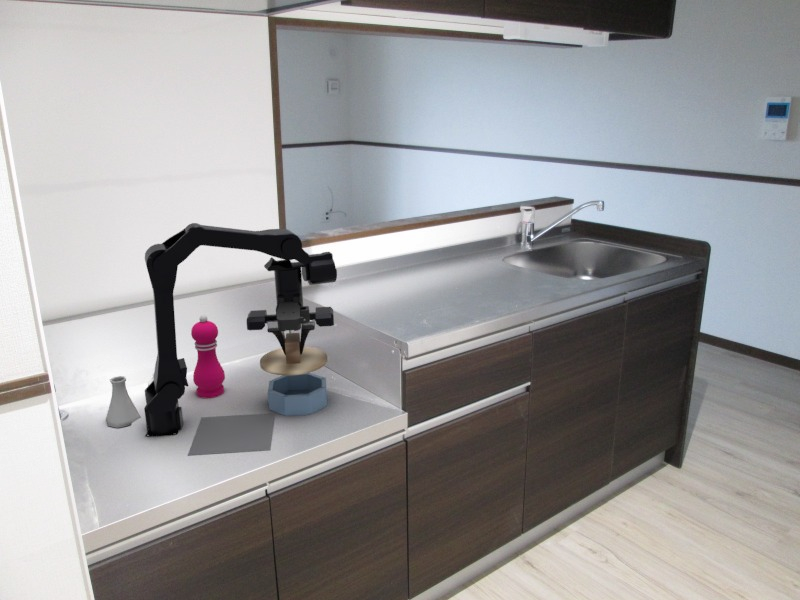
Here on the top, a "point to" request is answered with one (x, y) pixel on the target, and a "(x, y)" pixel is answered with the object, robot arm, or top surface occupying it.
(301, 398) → the bowl
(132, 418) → the flask
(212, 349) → the pepper mill
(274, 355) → the lid
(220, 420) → the mat
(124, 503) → the top surface
